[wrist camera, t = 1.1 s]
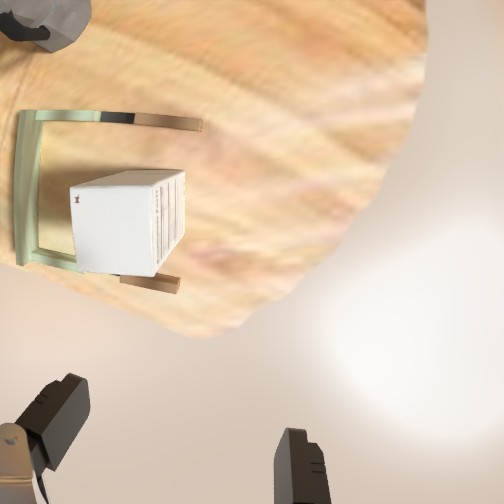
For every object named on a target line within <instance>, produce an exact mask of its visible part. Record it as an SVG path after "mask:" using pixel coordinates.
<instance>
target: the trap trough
mask: <svg viewBox="0 0 504 504" xmlns="http://www.w3.org/2000/svg"><path fill="white" fill-rule="evenodd" d="M44 120H69V121H96V122H114V123H128V124H140V125H151V126H161V127H170V128H179V129H187V130H195V131H201V129H202V123H203V120H201V119H195V118H187V117H178V116H168V115H158V114H147V113H122V112H102V111H95V110H20V116H19V123H18V132H17V141H16V153H15V168H14V237H15V253H16V264H17V265H20V266H24V265H25V264H27V263H29V262H30V261H34V262H37V263H41V264H45V265H49V266H53V267H57V268H61V269H65V270H69V271H73V272H77V273H81V274H85V273H86V272H81V271H78V268H77V263H76V256H73V255H68V254H64V253H59V252H55V251H51V250H47V249H42V248H39V243H38V188H39V169H40V155H41V145H42V135H43V127H44ZM112 275H117V276H120V283H125V284H129V285H134V286H139V287H143V288H148V289H153V290H158V291H162V292H167V293H172V294H176V293H177V291H178V289H179V287H180V278H178V277H173V276H168V275H163V274H158V273H156V274H155V275H154V277H147V276H132V275H118V274H112Z"/></svg>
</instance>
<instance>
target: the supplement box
mask: <svg viewBox="0 0 504 504" xmlns="http://www.w3.org/2000/svg"><path fill="white" fill-rule="evenodd" d="M69 190H70V205H71V218H72V229H73V239H74V247H75V255H76V263H77V268H78V271H81V272H92V273H104V274H118V275H132V276H147V277H154V275H155V274H156V272H157V271H158V270H159V268H160V267H161V265H162V264H163V263H164V261H165V260H166V259H167V257H168V256H169V254H170V253H171V252H172V250H173V249H174V248H175V246H176V245H177V243H178V242H179V241H180V240H181V238H182V237H183V235H184V234H185V214H184V196H185V171H183V170H134V171H124V172H120V173H116V174H113V175H109V176H105V177H102V178H98V179H95V180H91V181H88V182H85V183H81V184H78V185H75V186H72V187H70V188H69Z"/></svg>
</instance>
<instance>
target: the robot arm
mask: <svg viewBox="0 0 504 504" xmlns="http://www.w3.org/2000/svg"><path fill="white" fill-rule="evenodd" d="M89 412H90V398H89V390H88V382H87V380H86V379H85V378H82V377H79V376H77V375H74V374H72V373H69V374H67V375H66V377H65V378H64V379H63V380H62V381H61V382H60V381H57V380H55V381H54V382H52V383H50V384H48V385H46V386H45V387H44V388H43V390H42V391H41V392H40V394H39V395H37V397H36V398H35V400H34V401H33V402H32V403H31V404H30V405H29V406H28V407H27V408H26V410H25V411H24V412H23V413H22V415H21V416H20V417H19V418H18V419H17V421H16V422H15V423H4V424H2V425H0V504H51V503H50V499H49V496H48V492H47V488H46V484H45V480H44V477H43V471H44V470H45V468H48V469H51V470H53V471H55V470H56V469H57V467H58V465H59V464H60V462H61V460H62V459H63V457H64V455H65V454H66V452H67V450H68V449H69V447H70V445H71V444H72V442H73V441H74V439H75V437H76V436H77V434H78V432H79V431H80V429H81V428H82V426H83V424H84V423H85V421H86V420H87V418H88V416H89ZM324 464H325V462H324V456H323V452H322V451H321V449H320V448H319V446H318V445H317V443H309V442H308V440H307V433H306V430H304V429H295V428H286V429H285V431H284V434H283V436H282V438H281V440H280V443H279V445H278V447H277V450H276V453H275V457H274V504H331V498H330V492H329V486H328V480H327V474H326V467H325V465H324Z"/></svg>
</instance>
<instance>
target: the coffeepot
mask: <svg viewBox="0 0 504 504" xmlns="http://www.w3.org/2000/svg"><path fill="white" fill-rule="evenodd" d="M90 18H91V3H90V0H0V31H1V32H2V33H4V34H5V35H6V36H7V37H8V38H9V39H11V40H13V41H32V42H33V43H34V44H36V45H38V46H40V47H42V48H44V49H46V50H48V51H50V52H52V53H53V52H55V51H57V50H60V49H62V48H65V47H66V46H68V45H70V44H71V43H73V42H75V41H76V39H77V38H78V37H79V36H80V35H81V33H82V32H83V31H84V29H85V27H86V26H87V24H88V21H89V20H90Z"/></svg>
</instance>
